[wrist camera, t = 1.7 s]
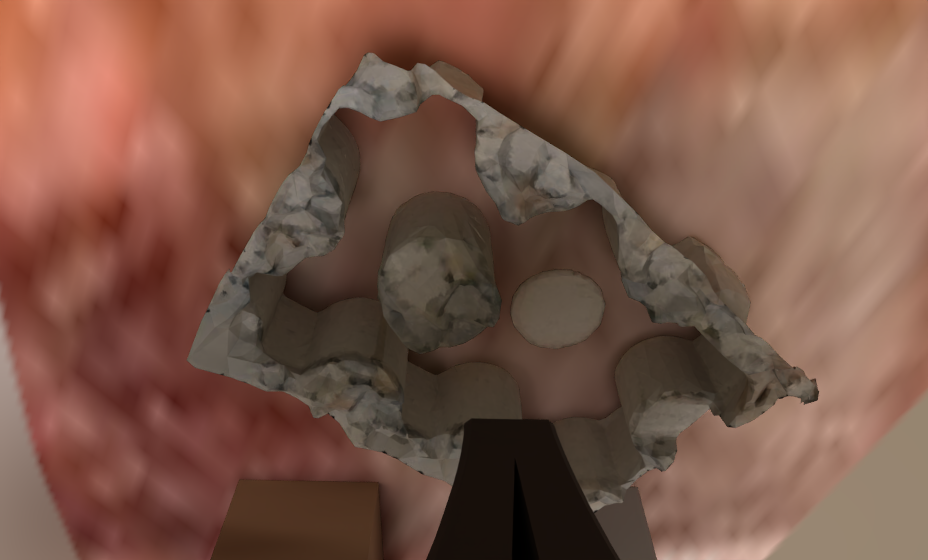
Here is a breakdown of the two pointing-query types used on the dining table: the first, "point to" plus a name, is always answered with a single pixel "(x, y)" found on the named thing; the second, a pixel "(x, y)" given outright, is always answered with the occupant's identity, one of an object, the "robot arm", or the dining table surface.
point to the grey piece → (481, 304)
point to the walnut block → (302, 521)
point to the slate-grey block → (627, 527)
